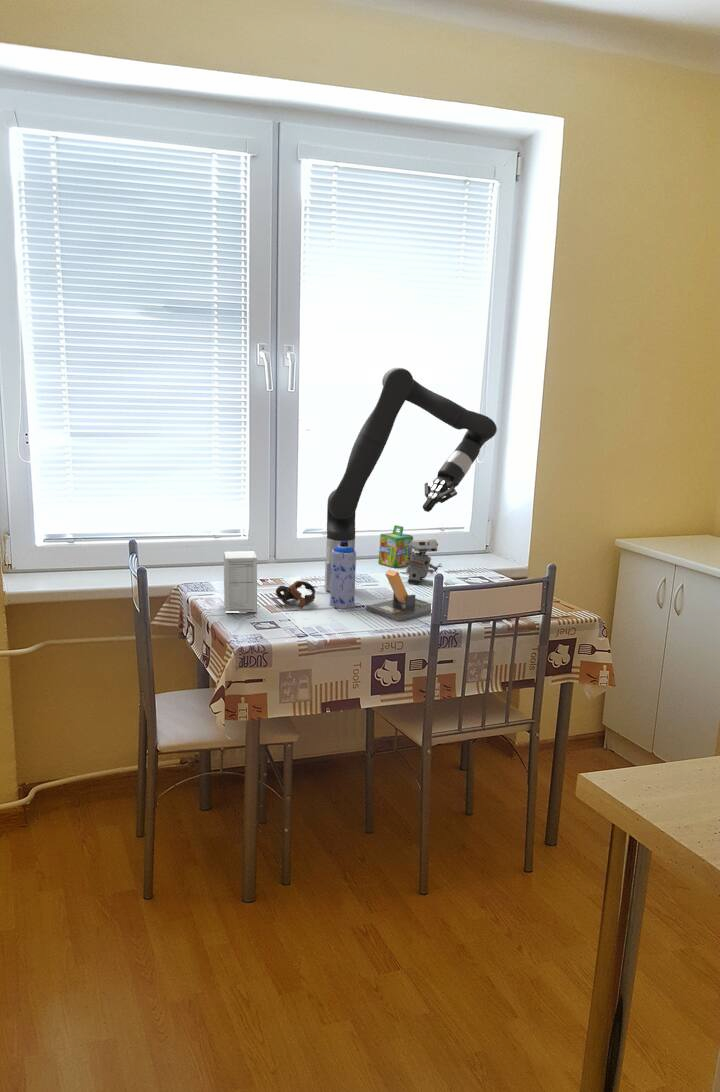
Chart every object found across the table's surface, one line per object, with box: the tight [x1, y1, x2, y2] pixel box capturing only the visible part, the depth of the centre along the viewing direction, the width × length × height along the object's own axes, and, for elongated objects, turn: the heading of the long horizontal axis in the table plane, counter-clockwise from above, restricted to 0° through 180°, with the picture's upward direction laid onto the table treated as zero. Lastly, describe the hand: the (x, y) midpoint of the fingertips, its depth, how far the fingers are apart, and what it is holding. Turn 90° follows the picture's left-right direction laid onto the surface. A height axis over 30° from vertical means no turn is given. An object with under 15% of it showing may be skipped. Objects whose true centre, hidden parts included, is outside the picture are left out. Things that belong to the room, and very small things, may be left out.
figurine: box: [405, 538, 443, 585], centre depth 278 cm, size 9×12×15 cm
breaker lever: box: [384, 569, 409, 605], centre depth 241 cm, size 2×4×12 cm
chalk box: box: [378, 524, 414, 569], centre depth 303 cm, size 9×9×15 cm
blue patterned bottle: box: [329, 541, 357, 609], centre depth 246 cm, size 8×8×20 cm
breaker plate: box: [365, 593, 432, 622], centre depth 243 cm, size 18×14×6 cm
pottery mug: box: [275, 580, 316, 609], centre depth 246 cm, size 12×10×8 cm
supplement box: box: [223, 550, 258, 613], centre depth 237 cm, size 10×9×17 cm
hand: (425, 509), depth 248 cm, fingers closed
